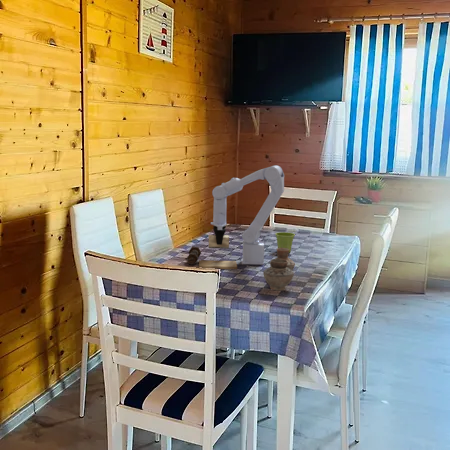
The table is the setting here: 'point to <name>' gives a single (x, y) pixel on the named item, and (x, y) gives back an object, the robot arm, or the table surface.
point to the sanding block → (214, 244)
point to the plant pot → (285, 240)
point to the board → (218, 264)
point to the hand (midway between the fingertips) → (219, 243)
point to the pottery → (279, 270)
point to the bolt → (193, 255)
